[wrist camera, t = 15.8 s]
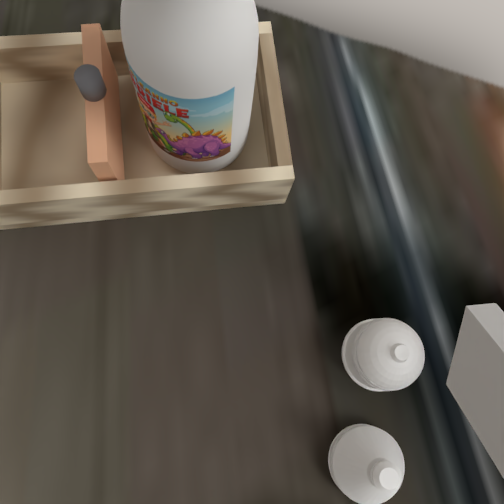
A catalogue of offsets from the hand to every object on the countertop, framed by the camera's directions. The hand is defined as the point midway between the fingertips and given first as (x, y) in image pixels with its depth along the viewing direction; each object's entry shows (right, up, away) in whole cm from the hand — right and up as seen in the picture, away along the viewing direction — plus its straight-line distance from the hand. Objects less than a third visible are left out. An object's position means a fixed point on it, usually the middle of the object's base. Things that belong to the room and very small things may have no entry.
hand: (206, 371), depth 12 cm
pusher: (-9, +12, +24) cm, 29 cm away
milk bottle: (-3, +12, +25) cm, 28 cm away
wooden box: (-8, +12, +26) cm, 29 cm away
